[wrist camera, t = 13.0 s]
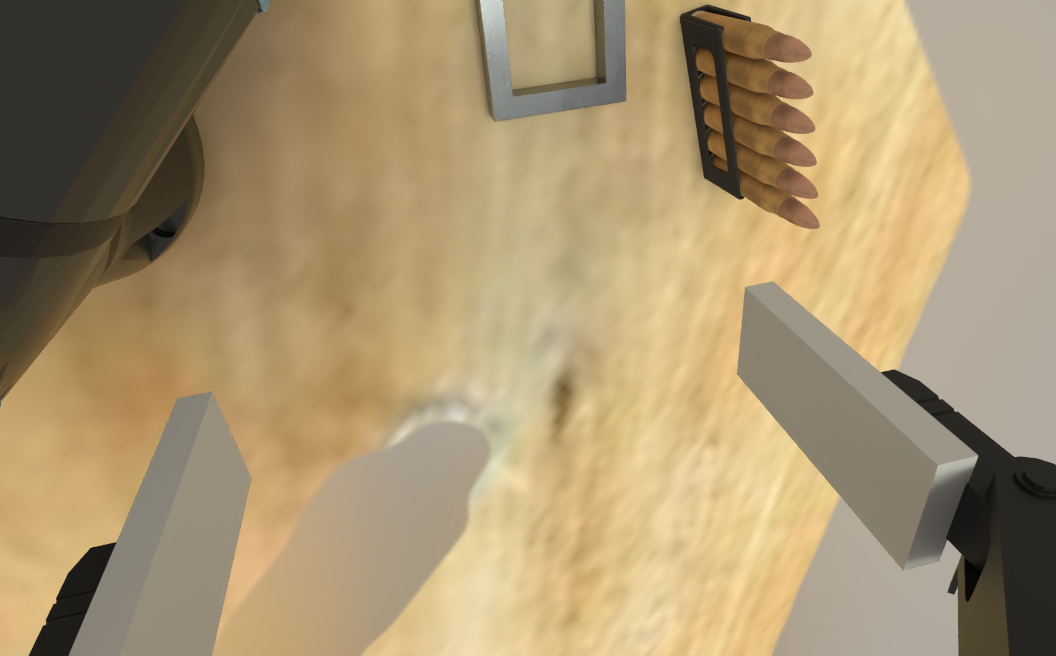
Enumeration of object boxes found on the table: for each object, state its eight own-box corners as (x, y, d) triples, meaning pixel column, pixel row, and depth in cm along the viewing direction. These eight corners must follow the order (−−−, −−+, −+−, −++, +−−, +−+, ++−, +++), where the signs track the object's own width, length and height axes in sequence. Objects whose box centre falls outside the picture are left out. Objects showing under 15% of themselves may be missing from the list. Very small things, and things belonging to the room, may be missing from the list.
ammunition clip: (679, 14, 38) (789, 40, 28) (708, 3, 38) (828, 25, 28) (704, 178, 44) (802, 248, 34) (729, 169, 44) (835, 236, 34)
